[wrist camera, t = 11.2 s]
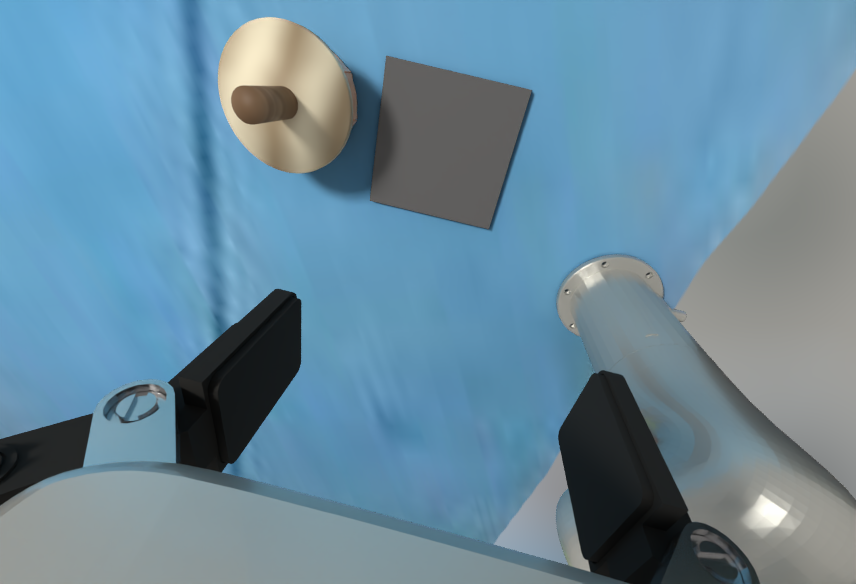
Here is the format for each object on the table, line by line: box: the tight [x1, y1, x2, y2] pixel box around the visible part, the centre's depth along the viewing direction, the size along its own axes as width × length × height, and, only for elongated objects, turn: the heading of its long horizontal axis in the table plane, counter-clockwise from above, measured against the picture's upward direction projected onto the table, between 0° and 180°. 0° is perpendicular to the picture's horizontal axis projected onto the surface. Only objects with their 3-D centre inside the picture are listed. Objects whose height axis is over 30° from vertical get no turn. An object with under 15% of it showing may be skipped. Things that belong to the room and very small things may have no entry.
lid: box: [218, 17, 353, 173], centre depth 31 cm, size 13×13×7 cm
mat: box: [370, 56, 532, 229], centre depth 39 cm, size 15×15×1 cm
